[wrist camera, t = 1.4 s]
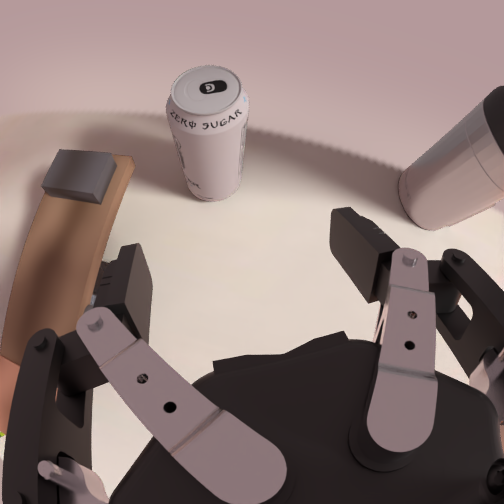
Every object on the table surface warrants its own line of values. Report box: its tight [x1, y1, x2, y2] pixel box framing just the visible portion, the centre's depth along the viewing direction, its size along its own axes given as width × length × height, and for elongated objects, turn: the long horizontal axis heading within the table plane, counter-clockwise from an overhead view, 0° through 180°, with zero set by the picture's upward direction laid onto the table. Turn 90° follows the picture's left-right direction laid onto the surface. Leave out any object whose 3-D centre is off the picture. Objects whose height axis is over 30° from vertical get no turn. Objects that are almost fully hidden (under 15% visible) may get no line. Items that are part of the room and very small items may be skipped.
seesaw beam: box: [0, 149, 135, 435], centre depth 19 cm, size 9×28×4 cm, turn 170°
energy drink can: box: [166, 65, 249, 201], centre depth 25 cm, size 6×6×15 cm
